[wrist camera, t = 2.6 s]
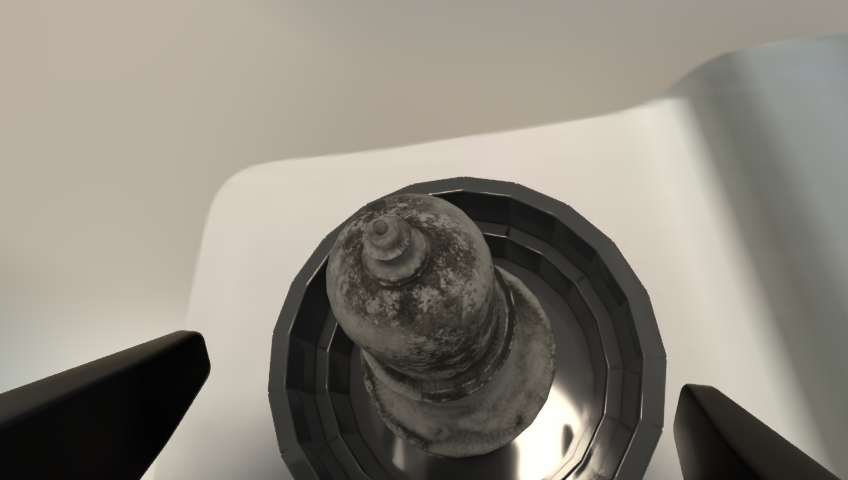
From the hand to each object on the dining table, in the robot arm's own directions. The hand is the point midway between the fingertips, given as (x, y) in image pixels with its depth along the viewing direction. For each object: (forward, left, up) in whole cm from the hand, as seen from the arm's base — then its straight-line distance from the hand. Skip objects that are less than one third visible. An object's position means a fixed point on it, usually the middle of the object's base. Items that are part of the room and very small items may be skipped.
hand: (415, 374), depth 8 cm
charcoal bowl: (+1, 0, -9) cm, 9 cm away
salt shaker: (+1, 0, -9) cm, 9 cm away
